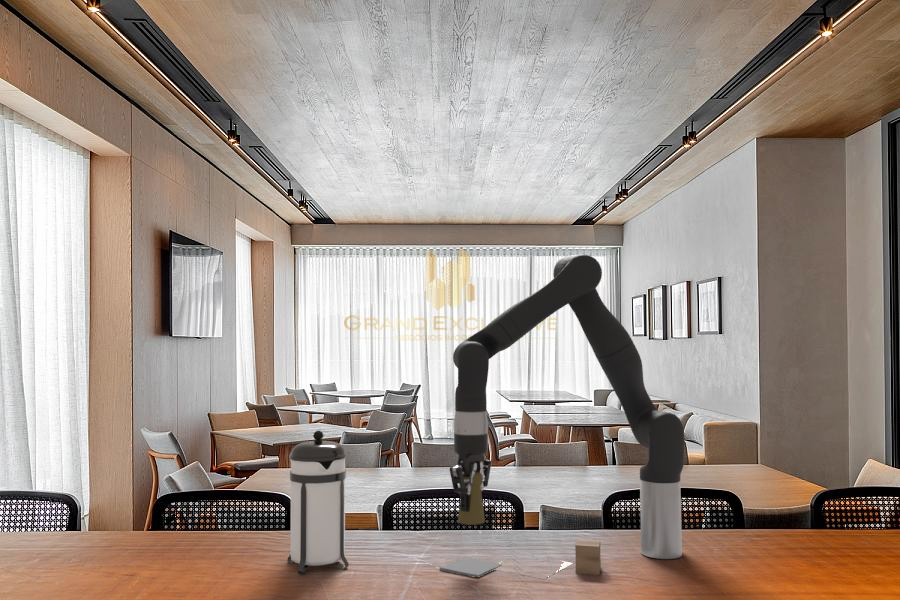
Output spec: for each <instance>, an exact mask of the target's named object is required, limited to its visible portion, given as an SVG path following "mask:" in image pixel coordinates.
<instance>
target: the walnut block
mask: <svg viewBox="0 0 900 600" xmlns="http://www.w3.org/2000/svg"><path fill="white" fill-rule="evenodd" d="M574 545H575V549H574V550H575V552H574V553H575V554H574V555H575V574H581V575H582V574H583V575H600V573H601V563H602V562H601V561H602V560H601V540H594V539H593V540H592V539H582V538H581V539H577V540H576V543H575V544H574Z"/></svg>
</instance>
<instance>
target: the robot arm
mask: <svg viewBox="0 0 900 600" xmlns="http://www.w3.org/2000/svg"><path fill="white" fill-rule="evenodd" d="M602 274H603V270H602V266H601V264H600V262H599V261H598V260H597V259H596V258H595V257H593V256H591V255H588V254H581V253H579V254H571V255H567V256H563V257H561V258H560V259H559V260H557V262H556V263H555V265H554V269H553V279H552V280H550V281H549V282H548V283H547V284H546V285H544V286H543V287H541V288H540V289H538V290H537V291H536V292H534V293H532V294H531V295H529V296H526V297H525V298H524V299H522V300H520V301H519V302H517V303H515V304H514V305H512V306H510V307H509V308H507V309H505V310H504V311H503V312H502V313H500V314H499V315H498V316H497V317H495V318H494V319H493V320H492V321H490V323H488V324H487V325H486V326H484V328H482V329H480V330H478V331H477V332H475V333H474V334H473V335H471V336H469V337H468V338H466V339H465V340H462V342H461V343H460V344H458V345H457V346H456V347H455V349H454V351H453V353H452V354H453V355H452V359H453V360H452V361H453V364H454V365H455V367H456V368H457V387H456V388H455V393H454V419H453V432H454V433H453V452H454V453H455V454H457V455H458V458H457V462H456V463H457V464H456V465H455V466H450V467H449V474H450V478H451V479H450V480H451V483H452V488H453V492H454V493H458V494H459V508H461V511H463V512H465V511H466V512H469V511H470V500H471V495H470V492H471V484H472V483H473V479H472V478H473V477H474V475H475V472H480V473H481V474H482V477H483V482H482V485H481V486H480V488H481V495H482V491H484V488H486V487H488V486H489V485H488V484H489V479H490V473H491V469H492V467H491V466H492V460H491V459H490V460H489V459H485V458H484V457H485V456H484V454H487V453H488V451H489V443H488V442H489V437H488V436H489V430H488V429H489V427H488V425H489V423H488V414H487V412H488V411H487V384H488V377H489V370H490V369H489V368H490V364H489V363H490V359H491V358H493V357H494V356H495V355H497V354H498V353H500V352H502V351H505V350H506V349H508V348H510V347H511V346H513V344H516V343H517V342H518V341H519V340H520V339H522V338H524V336H526V335H527V334H529V332H531V331H532V330H533V329H534V328H535V327H537V326H539V324H541V323H542V322H543V321H544V320H546V319H547V318H548V317H550V316H552V315H553V314H554V313H556V312H557V311H559V310H561V309H562V308H563V307H565V306H567V305H568V306H569V307H570V308H571V310H572V311H573V313H574V315H575V317H576V318H577V321H578V323H579V325H580V327H581V329H582V331H583V334H584V335H585V338H586V339H587V341H588V343H589V345H590V347H591V350H592V352H593V353H594V356H595V357H596V360H597V361H598V363H599V365H600V367H601V369H602V371H603V372H604V374H605V376H606V378H607V380H608V381H609V384H610V385H611V388H612V389H613V392H614V393H615V396H616V398H618V400H619V402H620V406H621V407H622V409H623V411H624V413H625V415H624V416H625V417H626V419H627V422H628V424H629V427H630V430H631V432H632V434H633V436H634V438H635V440H636V441H637V442H638V444H639V445H641V446H642V447H644V448H646V449H648V461H647V462H646V464H644V465H641V466H640V469H639V492H640V493H639V498H640V500H639V502H640V508H639V509H640V553H641V555H643V556H645V557H649V558H653V559H659V560H673V559H678V558H681V557H682V556H683V546H682V545H683V544H682V543H683V542H682V536H683V535H682V497H681V495H682V494H681V474H682V471H683V468H684V463H685V429H684V424H683V422H682V420H681V419H680V417H678V416H677V415H676V414H674V413H671V412H667V411H661V410H658V409H657V407H656V406H655V404H654V402H653V401H652V399H651V397H650V395H649V393H648V392H647V389H646V387H645V383H644V372H643V371H644V370H643V363H642V358H641V356H640V353H639V351H638V349H637V347H636V345H635V343H634V340H633V339H632V337H631V336H630V335H631V334H630V333H629V332H628V331H627V330H626V328H625V327H624V325H622V323H621V322H620V321H619V320H618V318H616V317H615V315H614V314H613V313H612V312H611V310H609V308H607V306H606V305H605V303H604V302H603V300H602V298H601V296H600V295H599V292H598V290H597V287H598V286H599V284H600V283H601V280H602ZM463 476H464V477H469V476H470V477H469V479H468V480H465V479H464V477H463ZM465 483H467V487H465ZM482 496H483V495H482Z"/></svg>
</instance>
